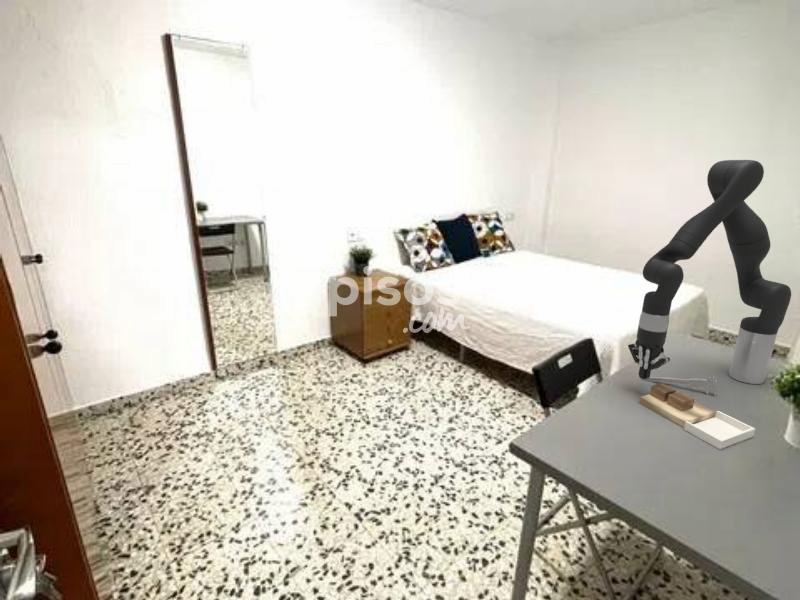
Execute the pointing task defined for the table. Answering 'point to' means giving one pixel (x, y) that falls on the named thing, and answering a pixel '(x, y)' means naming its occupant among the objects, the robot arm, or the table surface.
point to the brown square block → (661, 391)
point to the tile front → (680, 401)
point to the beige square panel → (677, 411)
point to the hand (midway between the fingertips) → (643, 378)
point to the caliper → (688, 382)
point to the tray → (720, 430)
